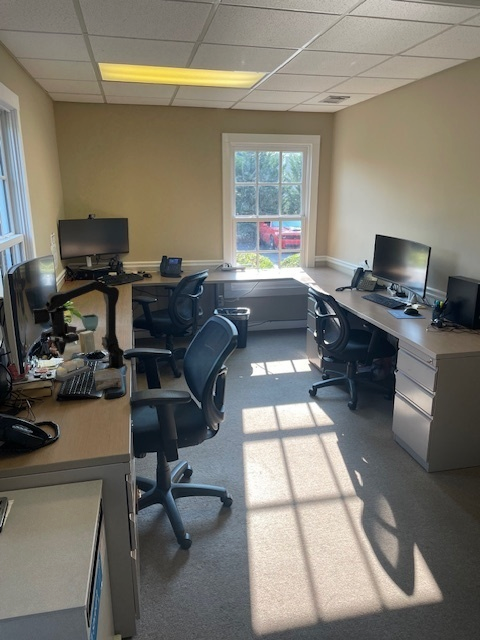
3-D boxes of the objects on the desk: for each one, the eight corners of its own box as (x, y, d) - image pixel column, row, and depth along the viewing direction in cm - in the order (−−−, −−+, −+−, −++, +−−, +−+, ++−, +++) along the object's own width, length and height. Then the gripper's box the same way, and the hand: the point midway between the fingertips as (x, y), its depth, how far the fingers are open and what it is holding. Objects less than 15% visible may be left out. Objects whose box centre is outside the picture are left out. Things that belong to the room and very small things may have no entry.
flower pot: (99, 329, 298) (98, 316, 296) (85, 331, 293) (84, 318, 291) (95, 327, 305) (94, 313, 303) (82, 329, 300) (80, 315, 298)
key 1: (84, 366, 220) (83, 358, 219) (77, 368, 217) (76, 361, 216) (78, 364, 222) (77, 357, 221) (71, 367, 219) (70, 359, 218)
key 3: (67, 375, 212) (66, 368, 211) (60, 378, 209) (59, 370, 208) (61, 374, 214) (60, 367, 213) (54, 377, 211) (53, 369, 210)
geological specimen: (95, 381, 193) (92, 368, 207) (96, 394, 195) (94, 381, 208) (121, 377, 197) (117, 365, 210) (122, 390, 198) (118, 377, 212)
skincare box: (91, 351, 251) (89, 330, 248) (96, 353, 248) (94, 331, 245) (80, 354, 246) (78, 332, 243) (85, 356, 243) (83, 333, 240)
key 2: (75, 369, 216) (75, 361, 215) (69, 371, 213) (68, 364, 212) (69, 367, 218) (69, 360, 217) (63, 370, 215) (62, 362, 214)
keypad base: (90, 370, 220) (90, 366, 220) (63, 381, 207) (62, 377, 206) (76, 367, 225) (75, 363, 225) (48, 378, 211) (47, 373, 211)
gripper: (86, 319, 209) (90, 352, 213) (58, 315, 218) (62, 347, 222) (66, 325, 200) (70, 359, 203) (38, 320, 209) (42, 353, 212)
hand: (61, 354), depth 210 cm, fingers closed
